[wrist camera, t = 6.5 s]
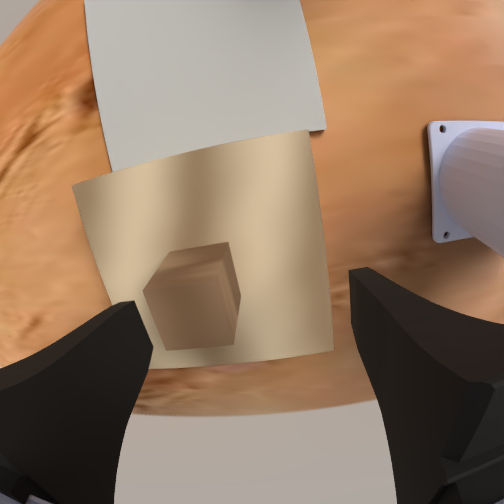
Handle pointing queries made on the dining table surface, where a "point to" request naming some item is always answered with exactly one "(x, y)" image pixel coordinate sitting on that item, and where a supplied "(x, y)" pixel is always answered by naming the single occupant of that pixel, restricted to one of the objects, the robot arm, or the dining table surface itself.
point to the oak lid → (217, 251)
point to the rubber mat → (199, 74)
